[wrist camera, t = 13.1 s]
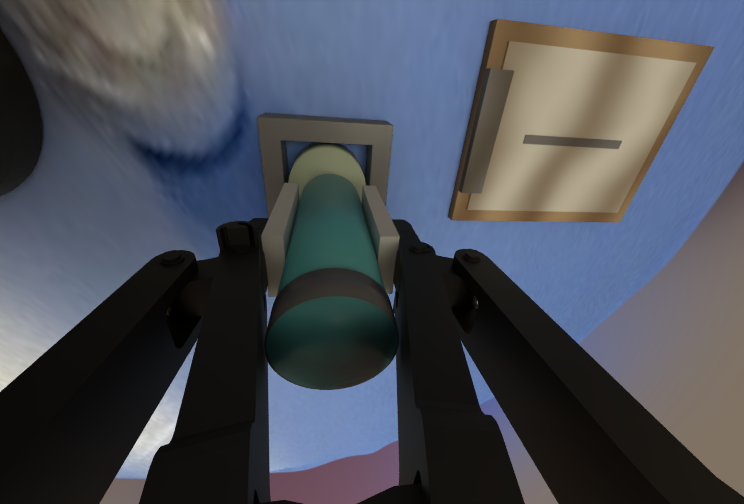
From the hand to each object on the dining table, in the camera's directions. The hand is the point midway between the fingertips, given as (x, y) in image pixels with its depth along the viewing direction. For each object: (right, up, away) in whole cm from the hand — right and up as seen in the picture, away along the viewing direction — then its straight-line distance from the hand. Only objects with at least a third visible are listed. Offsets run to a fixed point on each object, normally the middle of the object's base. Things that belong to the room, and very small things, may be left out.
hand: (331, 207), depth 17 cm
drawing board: (+17, +6, +6) cm, 19 cm away
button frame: (-1, +3, +4) cm, 5 cm away
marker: (0, +1, +2) cm, 3 cm away
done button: (-1, +3, +5) cm, 6 cm away
